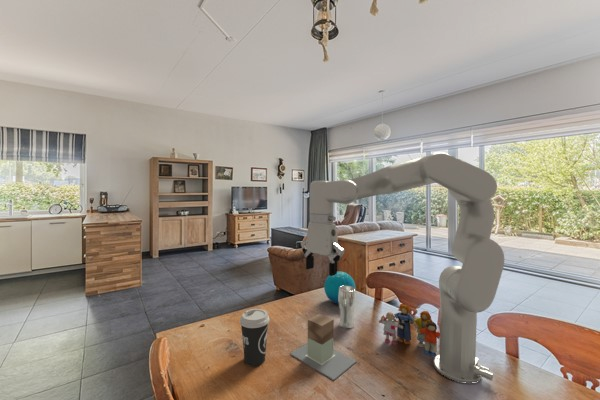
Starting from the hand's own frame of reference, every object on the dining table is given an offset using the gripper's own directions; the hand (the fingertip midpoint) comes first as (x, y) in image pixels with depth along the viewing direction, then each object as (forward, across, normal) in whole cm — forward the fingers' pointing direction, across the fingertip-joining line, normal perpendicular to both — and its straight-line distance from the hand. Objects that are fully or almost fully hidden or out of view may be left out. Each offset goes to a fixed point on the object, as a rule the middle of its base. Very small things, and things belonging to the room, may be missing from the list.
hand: (321, 271), depth 89 cm
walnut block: (+22, 0, 0) cm, 22 cm away
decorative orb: (+28, +21, -40) cm, 53 cm away
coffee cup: (+28, +14, +16) cm, 36 cm away
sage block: (+28, 0, 0) cm, 28 cm away
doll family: (+29, -18, -29) cm, 45 cm away
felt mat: (+28, -1, 0) cm, 28 cm away
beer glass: (+28, +6, -24) cm, 38 cm away
